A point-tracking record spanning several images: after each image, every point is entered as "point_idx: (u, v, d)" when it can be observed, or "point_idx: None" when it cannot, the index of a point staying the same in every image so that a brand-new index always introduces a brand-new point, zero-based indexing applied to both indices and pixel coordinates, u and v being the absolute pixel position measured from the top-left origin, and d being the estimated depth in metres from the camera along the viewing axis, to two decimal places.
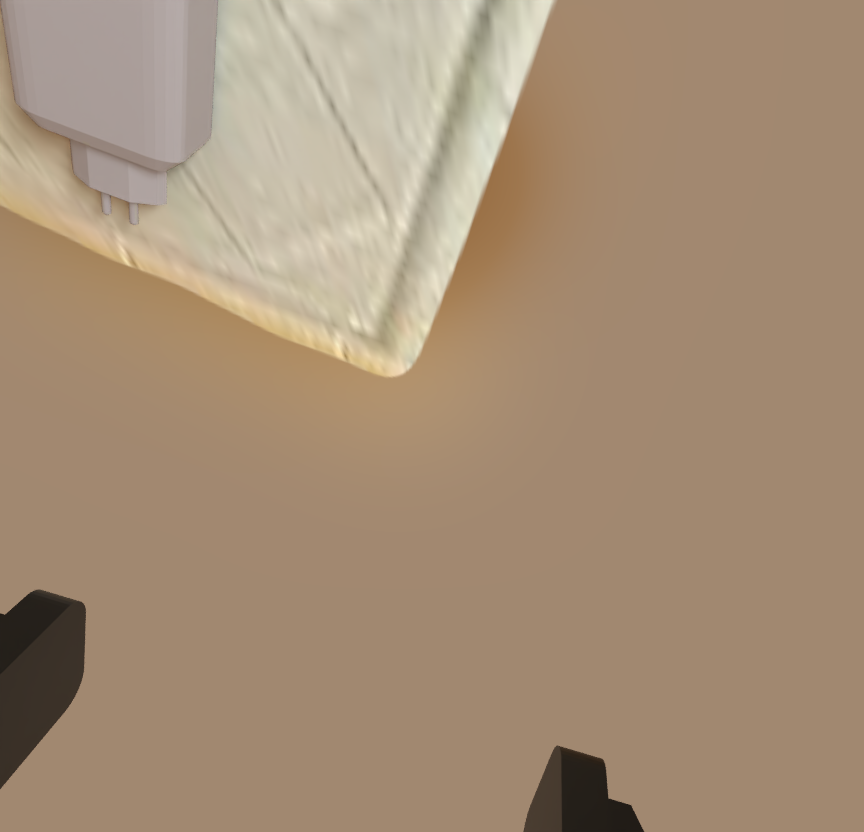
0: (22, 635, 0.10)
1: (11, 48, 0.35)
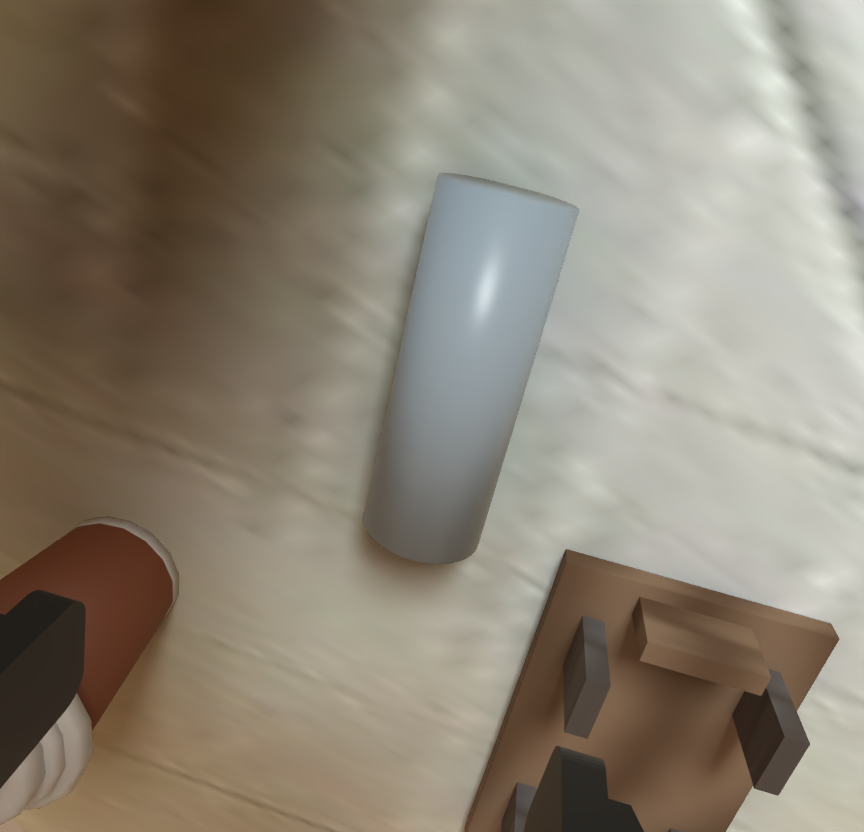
0: (22, 635, 0.10)
1: None
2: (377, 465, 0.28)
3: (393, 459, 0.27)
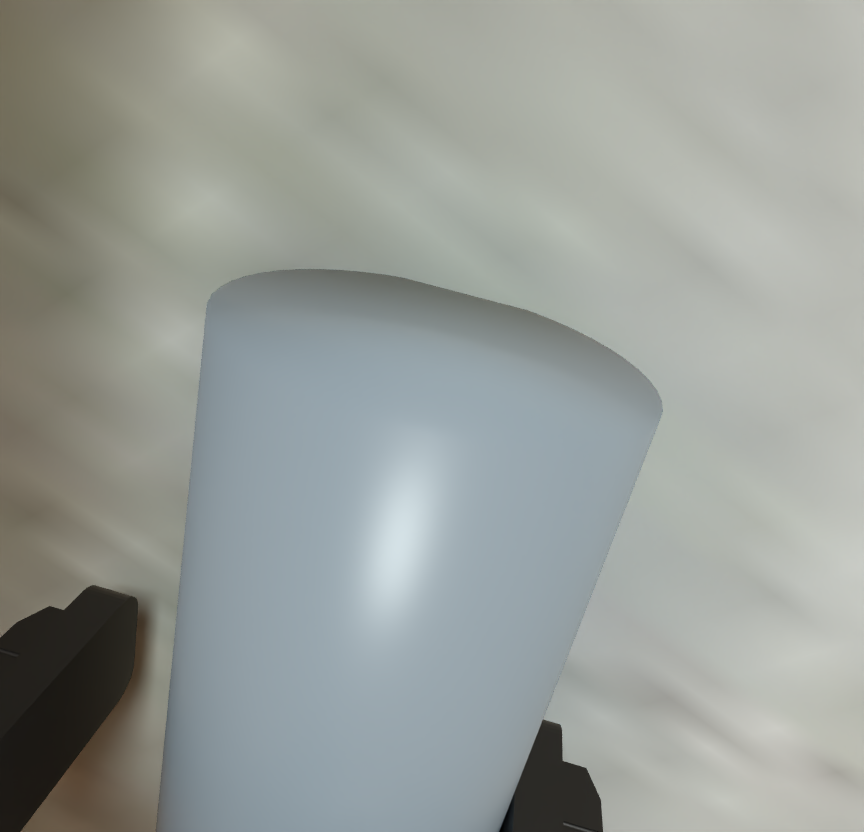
0: (83, 629, 0.11)
1: None
2: None
3: None
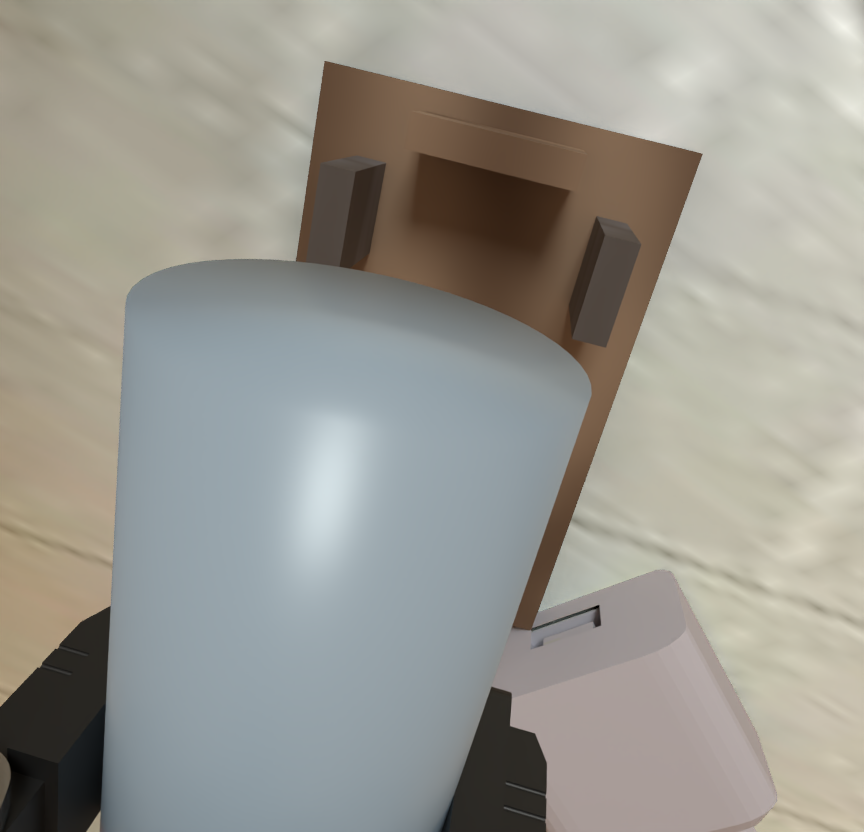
0: None
1: None
2: None
3: None
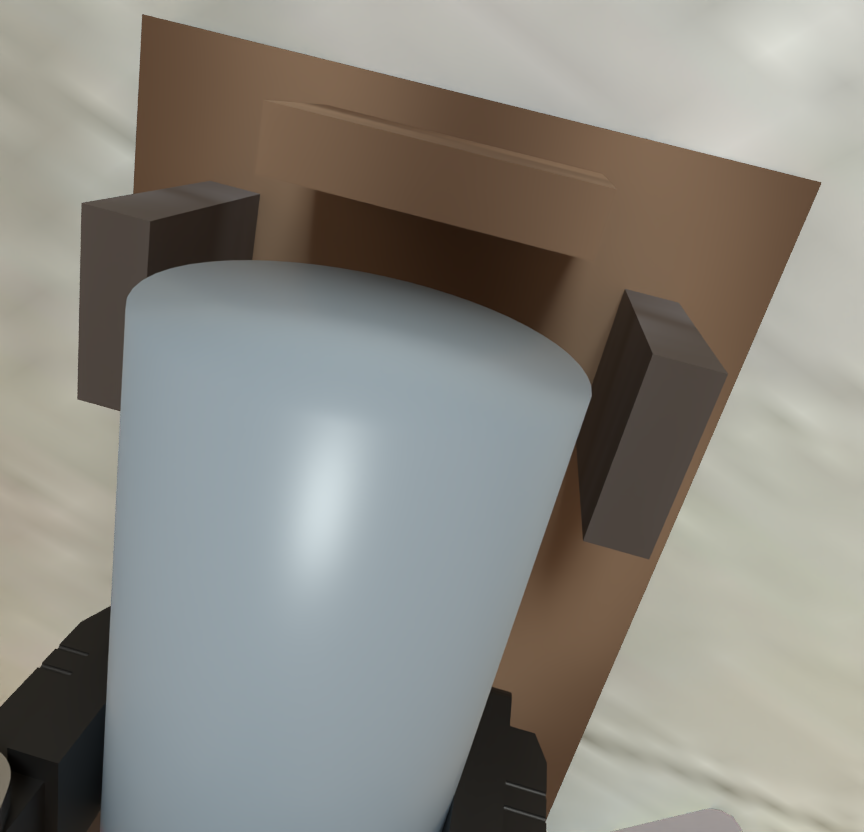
0: None
1: None
2: None
3: None
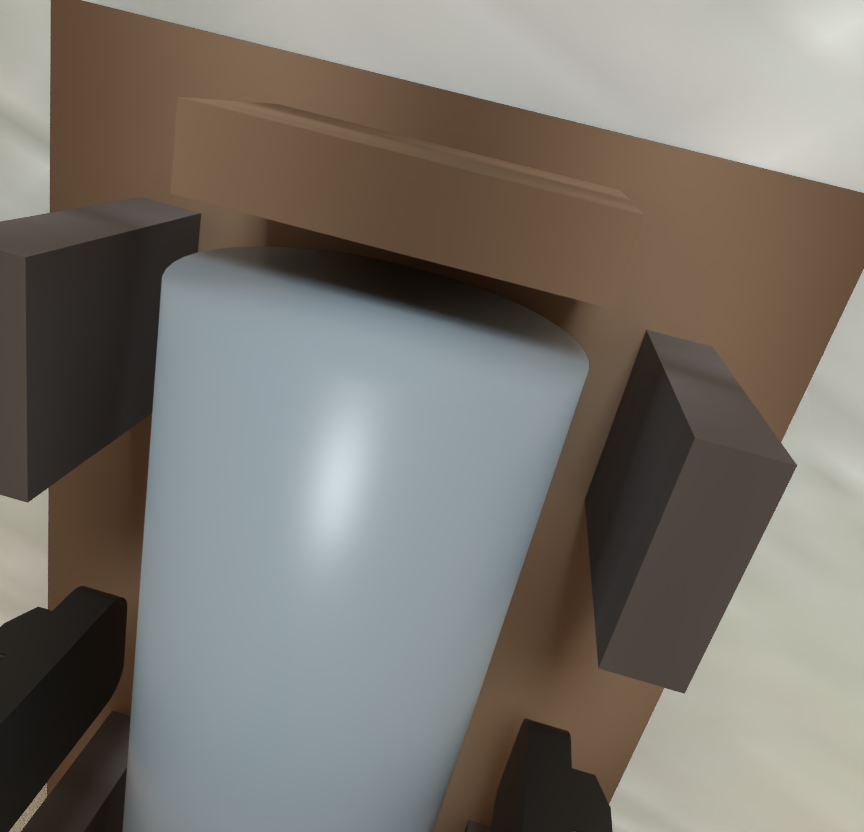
0: (71, 630, 0.11)
1: None
2: None
3: None
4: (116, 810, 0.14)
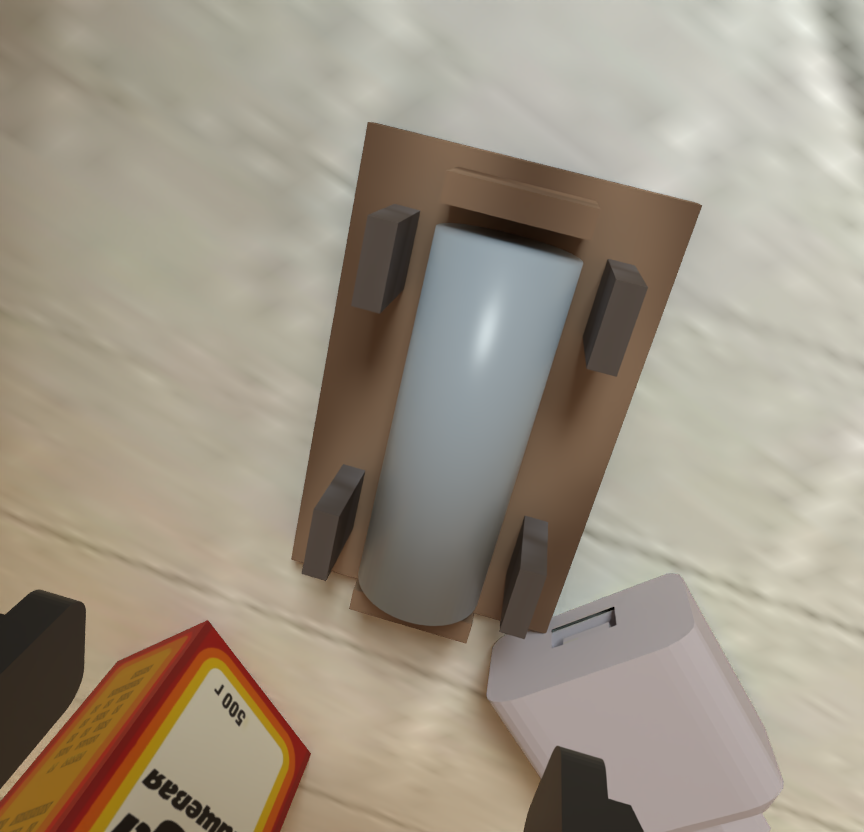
0: (22, 635, 0.10)
1: None
2: (371, 515, 0.28)
3: (383, 511, 0.26)
4: (352, 504, 0.29)
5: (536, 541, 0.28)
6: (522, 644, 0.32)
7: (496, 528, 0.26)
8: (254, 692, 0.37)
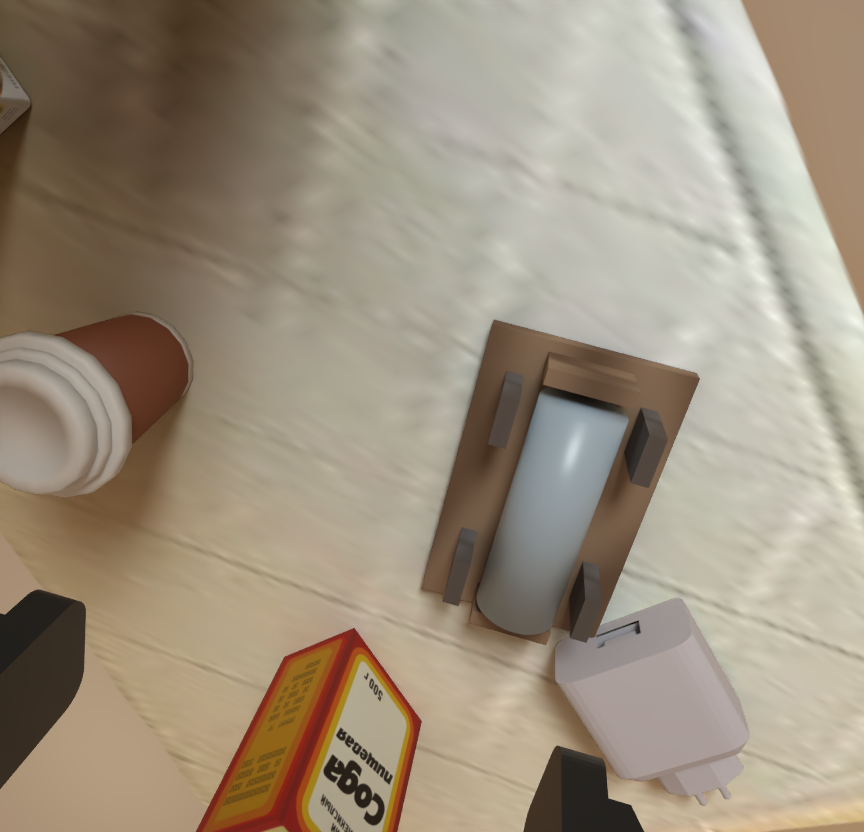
0: (22, 635, 0.10)
1: (605, 747, 0.47)
2: (488, 564, 0.43)
3: (499, 563, 0.42)
4: None
5: (592, 580, 0.44)
6: (576, 645, 0.48)
7: (570, 574, 0.42)
8: (385, 678, 0.52)
